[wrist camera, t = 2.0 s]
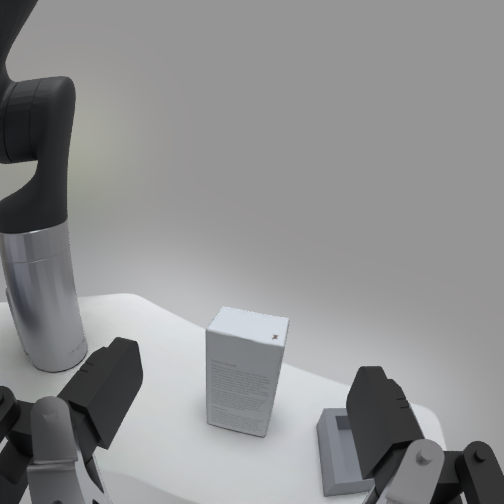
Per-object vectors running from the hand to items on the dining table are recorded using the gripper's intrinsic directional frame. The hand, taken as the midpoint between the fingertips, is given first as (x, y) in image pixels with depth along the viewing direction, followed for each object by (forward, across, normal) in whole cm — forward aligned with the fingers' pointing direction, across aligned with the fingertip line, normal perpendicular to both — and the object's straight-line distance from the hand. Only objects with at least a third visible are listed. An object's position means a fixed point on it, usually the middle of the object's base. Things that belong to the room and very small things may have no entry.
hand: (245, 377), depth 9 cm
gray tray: (+6, -13, +17) cm, 22 cm away
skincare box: (+11, 0, +17) cm, 20 cm away
